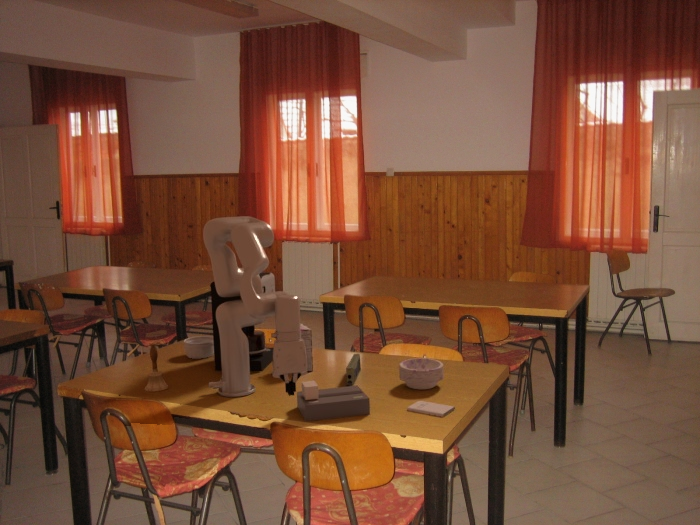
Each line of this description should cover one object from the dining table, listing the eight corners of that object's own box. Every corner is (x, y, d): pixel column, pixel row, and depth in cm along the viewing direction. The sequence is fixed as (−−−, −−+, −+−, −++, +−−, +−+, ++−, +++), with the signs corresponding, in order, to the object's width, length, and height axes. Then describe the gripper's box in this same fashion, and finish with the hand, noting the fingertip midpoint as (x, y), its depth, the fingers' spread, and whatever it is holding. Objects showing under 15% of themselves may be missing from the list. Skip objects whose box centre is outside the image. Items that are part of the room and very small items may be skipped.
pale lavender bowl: (419, 395, 228) (419, 372, 227) (390, 385, 240) (390, 363, 239) (453, 386, 237) (452, 363, 236) (423, 377, 249) (422, 355, 248)
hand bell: (144, 393, 239) (141, 348, 238) (144, 386, 247) (141, 342, 246) (168, 390, 242) (166, 345, 240) (168, 383, 250) (165, 340, 248)
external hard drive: (443, 419, 207) (407, 412, 214) (455, 411, 214) (419, 404, 221) (443, 414, 207) (406, 407, 214) (455, 406, 213) (419, 399, 220)
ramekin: (212, 359, 282) (211, 343, 282) (180, 360, 283) (179, 343, 282) (219, 351, 296) (218, 335, 295) (188, 352, 296) (188, 336, 295)
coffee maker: (260, 374, 258) (256, 282, 254) (210, 374, 261) (205, 282, 257) (279, 355, 285) (276, 271, 281) (234, 355, 288) (230, 272, 284)
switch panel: (305, 421, 206) (305, 405, 206) (297, 407, 220) (296, 391, 219) (369, 414, 211) (369, 397, 211) (357, 400, 225) (357, 385, 224)
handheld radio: (362, 370, 260) (352, 390, 236) (353, 370, 261) (343, 390, 236) (361, 353, 260) (351, 371, 235) (352, 353, 260) (342, 372, 236)
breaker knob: (305, 400, 210) (305, 387, 209) (302, 394, 215) (301, 381, 215) (318, 398, 211) (318, 385, 210) (314, 392, 216) (314, 380, 216)
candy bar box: (292, 366, 269) (290, 324, 267) (304, 364, 271) (303, 323, 269) (301, 373, 258) (299, 330, 256) (313, 371, 260) (312, 328, 258)
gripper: (265, 340, 204) (268, 400, 206) (315, 336, 207) (317, 395, 210) (262, 335, 211) (265, 393, 213) (310, 331, 215) (312, 388, 217)
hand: (290, 394), depth 211 cm, fingers closed
